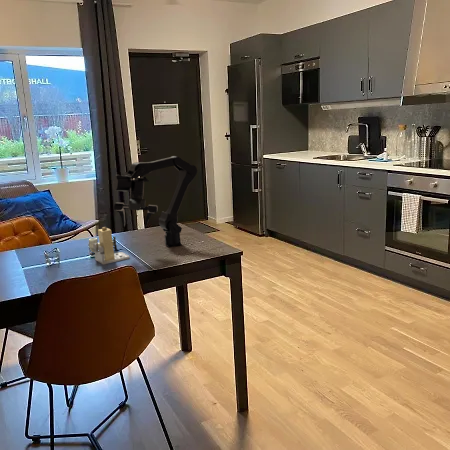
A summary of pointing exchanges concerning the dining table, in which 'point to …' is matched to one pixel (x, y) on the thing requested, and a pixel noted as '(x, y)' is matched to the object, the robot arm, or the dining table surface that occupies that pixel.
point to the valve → (95, 240)
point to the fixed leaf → (101, 257)
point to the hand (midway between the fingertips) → (134, 226)
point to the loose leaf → (106, 242)
